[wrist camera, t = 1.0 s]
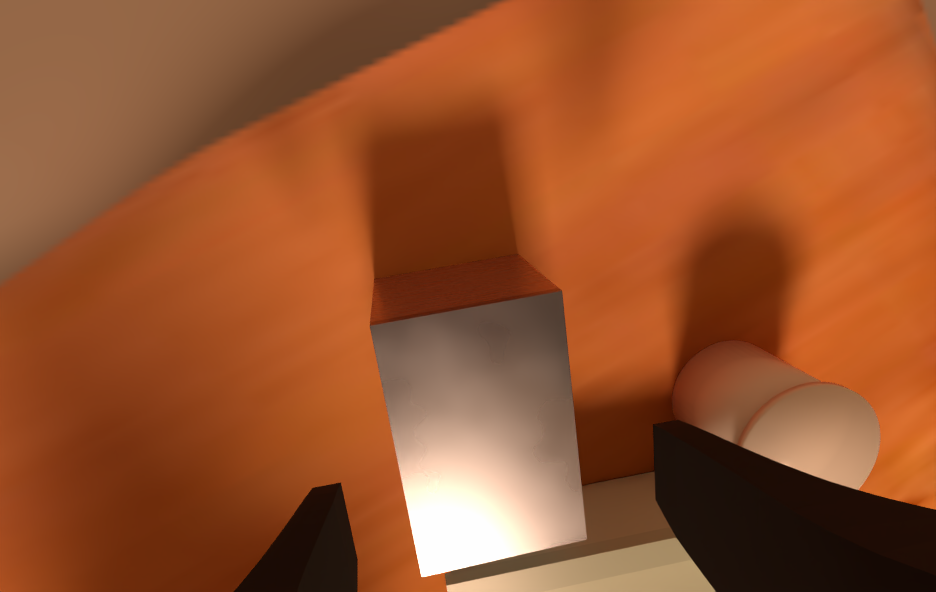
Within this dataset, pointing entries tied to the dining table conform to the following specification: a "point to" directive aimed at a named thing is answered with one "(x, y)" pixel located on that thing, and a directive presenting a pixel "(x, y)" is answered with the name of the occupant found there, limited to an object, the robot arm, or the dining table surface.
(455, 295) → the tea tin
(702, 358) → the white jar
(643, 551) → the tote
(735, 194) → the dining table surface
